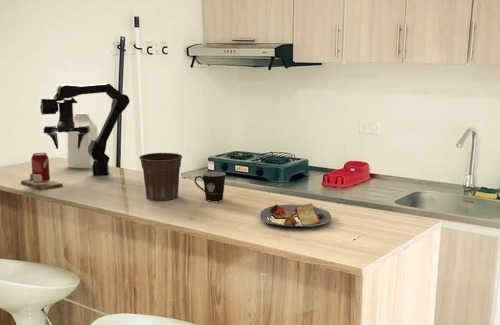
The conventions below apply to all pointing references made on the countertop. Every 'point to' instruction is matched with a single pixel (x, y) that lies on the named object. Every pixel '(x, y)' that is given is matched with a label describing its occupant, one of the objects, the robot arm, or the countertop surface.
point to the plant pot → (161, 175)
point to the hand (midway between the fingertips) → (68, 148)
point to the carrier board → (41, 184)
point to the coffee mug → (213, 185)
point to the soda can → (40, 167)
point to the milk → (81, 155)
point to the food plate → (305, 214)
